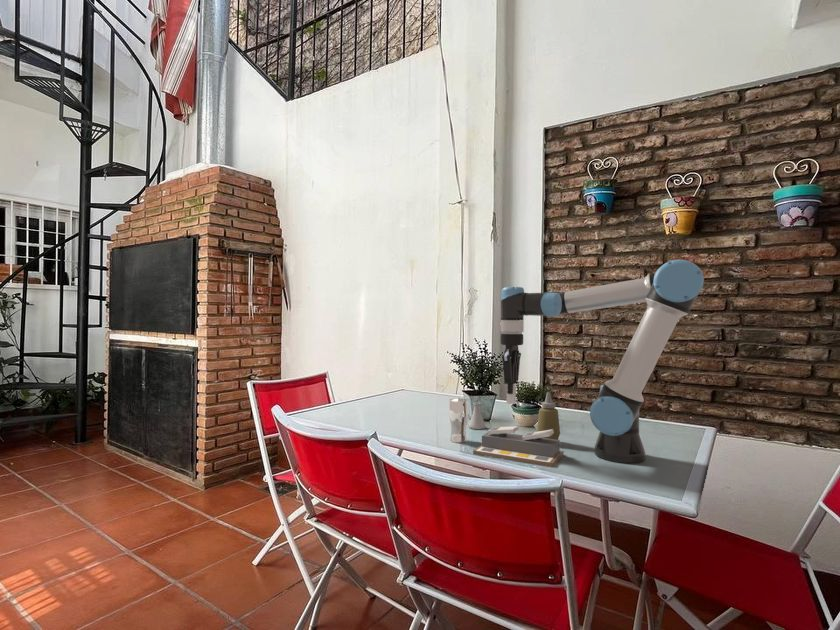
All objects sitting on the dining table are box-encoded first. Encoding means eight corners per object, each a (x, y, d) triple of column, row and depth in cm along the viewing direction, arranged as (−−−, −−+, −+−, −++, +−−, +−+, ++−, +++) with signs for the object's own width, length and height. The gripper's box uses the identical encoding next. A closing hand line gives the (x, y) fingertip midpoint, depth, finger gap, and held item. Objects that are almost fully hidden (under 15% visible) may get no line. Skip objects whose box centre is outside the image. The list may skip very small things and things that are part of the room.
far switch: (518, 429, 155) (517, 425, 156) (513, 432, 151) (512, 429, 151) (493, 431, 160) (492, 427, 160) (488, 434, 156) (487, 430, 156)
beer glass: (452, 444, 163) (452, 401, 163) (446, 439, 170) (446, 398, 170) (471, 442, 165) (471, 400, 165) (464, 437, 172) (464, 397, 172)
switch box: (563, 454, 150) (563, 437, 150) (552, 467, 138) (552, 448, 138) (488, 443, 163) (489, 427, 163) (473, 453, 151) (473, 436, 151)
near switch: (553, 432, 149) (552, 429, 150) (549, 436, 145) (548, 432, 145) (527, 436, 154) (526, 433, 154) (523, 440, 150) (522, 436, 150)
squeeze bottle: (563, 442, 166) (563, 392, 166) (556, 447, 159) (556, 395, 159) (541, 438, 170) (541, 390, 170) (533, 443, 164) (533, 393, 164)
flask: (472, 430, 183) (472, 405, 183) (465, 426, 190) (465, 402, 190) (489, 429, 185) (489, 404, 185) (481, 425, 192) (481, 401, 192)
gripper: (507, 332, 162) (507, 399, 162) (494, 333, 150) (493, 405, 150) (528, 332, 158) (527, 401, 158) (516, 334, 147) (515, 407, 147)
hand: (511, 403), depth 154 cm, fingers closed
